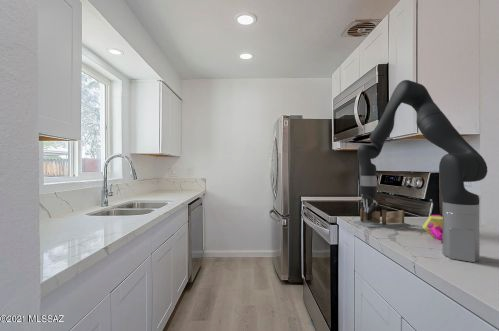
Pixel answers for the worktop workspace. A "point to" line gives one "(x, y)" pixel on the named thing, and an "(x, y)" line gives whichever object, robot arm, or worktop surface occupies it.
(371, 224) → the mat
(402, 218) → the fence fixed
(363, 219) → the fence gate
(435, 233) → the toy
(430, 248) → the worktop surface
